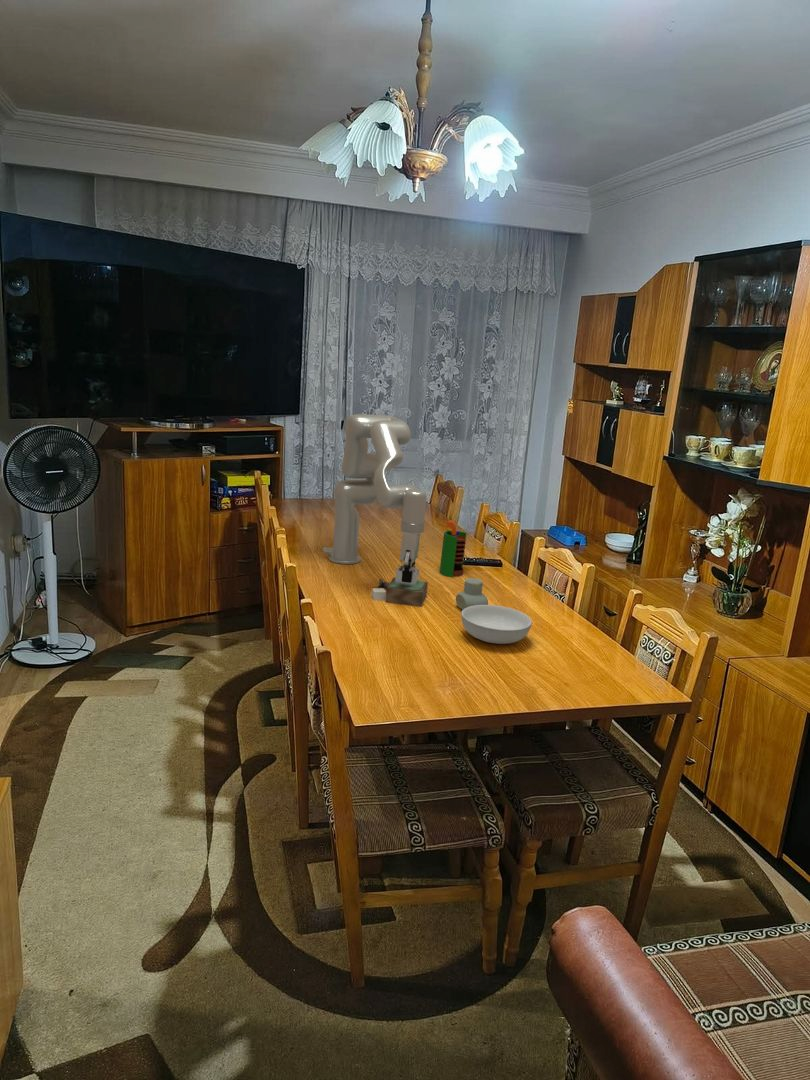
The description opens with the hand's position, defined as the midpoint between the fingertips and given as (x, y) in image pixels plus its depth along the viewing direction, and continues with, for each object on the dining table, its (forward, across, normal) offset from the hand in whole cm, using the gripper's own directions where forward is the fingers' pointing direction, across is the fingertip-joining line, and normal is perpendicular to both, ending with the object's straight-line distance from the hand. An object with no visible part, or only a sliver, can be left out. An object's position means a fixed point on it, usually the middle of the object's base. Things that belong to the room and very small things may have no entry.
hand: (408, 578), depth 249 cm
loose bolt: (+7, -10, -8) cm, 15 cm away
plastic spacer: (+7, +3, -9) cm, 12 cm away
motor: (+7, -37, +11) cm, 39 cm away
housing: (+2, 0, 0) cm, 2 cm away
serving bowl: (+7, +25, +31) cm, 41 cm away
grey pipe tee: (+7, +2, +22) cm, 23 cm away
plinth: (+7, 0, 0) cm, 7 cm away
